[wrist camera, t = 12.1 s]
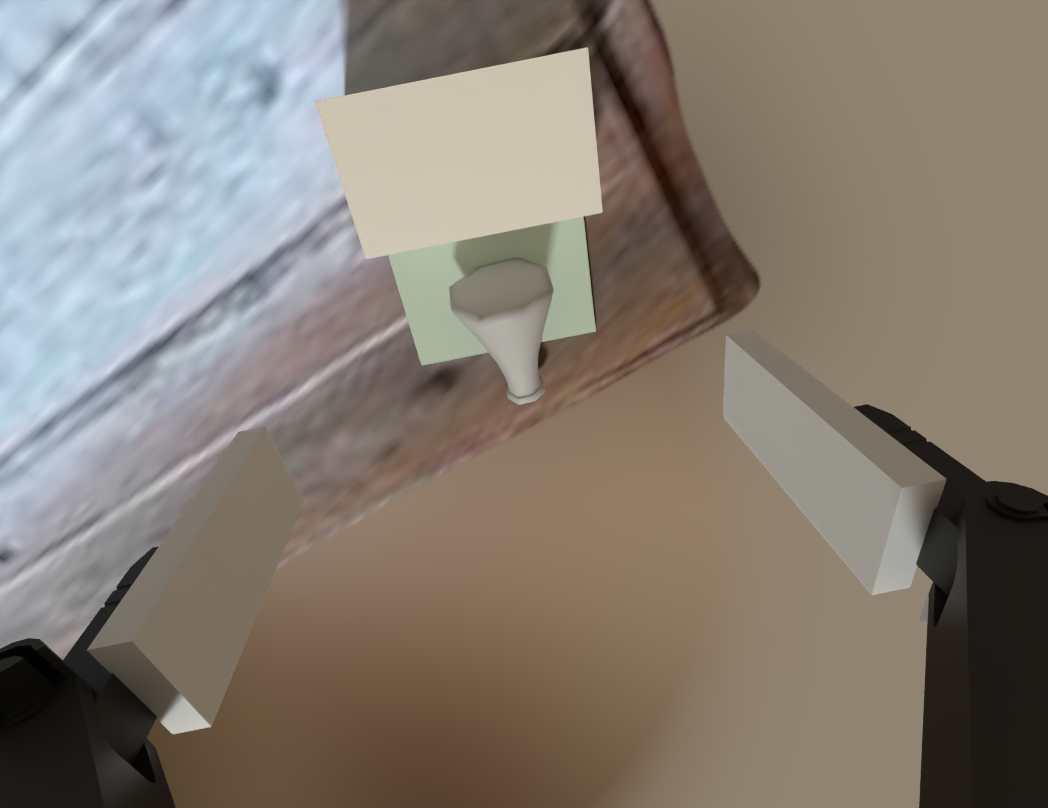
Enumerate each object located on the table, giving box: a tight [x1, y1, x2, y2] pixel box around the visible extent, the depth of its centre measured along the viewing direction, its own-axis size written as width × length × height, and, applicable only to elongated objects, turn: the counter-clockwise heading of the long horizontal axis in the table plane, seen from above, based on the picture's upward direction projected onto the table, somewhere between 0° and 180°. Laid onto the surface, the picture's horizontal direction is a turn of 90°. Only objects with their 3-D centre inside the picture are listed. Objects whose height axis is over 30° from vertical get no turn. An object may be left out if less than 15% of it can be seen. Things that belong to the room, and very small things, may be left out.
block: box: [315, 47, 602, 259], centre depth 31 cm, size 8×14×7 cm, turn 100°
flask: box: [449, 257, 554, 405], centre depth 37 cm, size 7×7×10 cm
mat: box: [388, 216, 596, 365], centre depth 38 cm, size 10×14×1 cm
